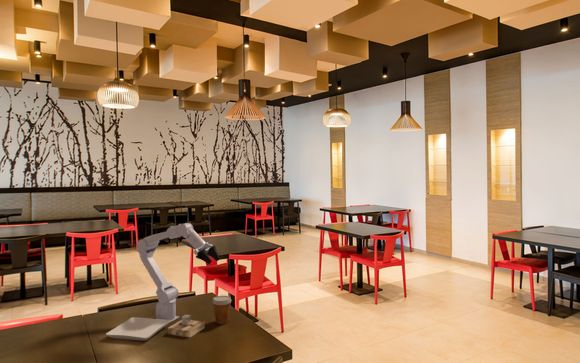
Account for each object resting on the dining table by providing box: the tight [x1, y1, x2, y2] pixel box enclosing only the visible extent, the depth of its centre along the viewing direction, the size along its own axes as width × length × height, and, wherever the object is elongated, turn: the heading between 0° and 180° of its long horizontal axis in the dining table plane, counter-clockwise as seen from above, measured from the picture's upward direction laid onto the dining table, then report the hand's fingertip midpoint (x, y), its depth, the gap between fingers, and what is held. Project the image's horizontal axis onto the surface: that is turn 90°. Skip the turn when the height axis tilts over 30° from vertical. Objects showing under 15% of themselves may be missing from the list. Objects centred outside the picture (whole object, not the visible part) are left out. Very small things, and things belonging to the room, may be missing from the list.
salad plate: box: [105, 316, 171, 342], centre depth 184 cm, size 21×21×3 cm
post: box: [181, 314, 192, 327], centre depth 186 cm, size 3×3×7 cm
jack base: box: [167, 319, 205, 339], centre depth 186 cm, size 12×12×4 cm
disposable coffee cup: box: [212, 295, 232, 325], centre depth 197 cm, size 10×10×12 cm
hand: (214, 261), depth 191 cm, fingers open, 7 cm apart
